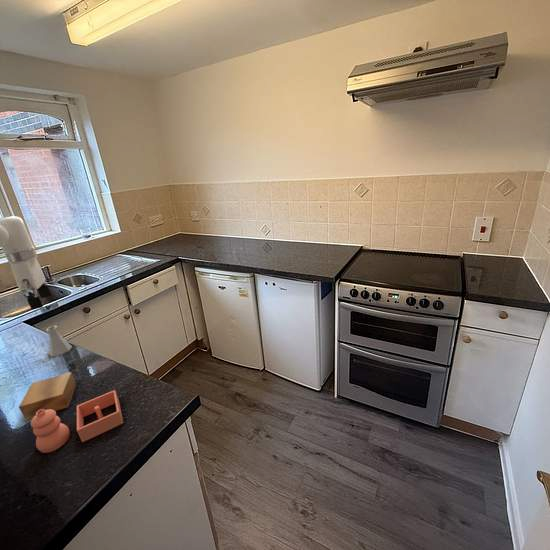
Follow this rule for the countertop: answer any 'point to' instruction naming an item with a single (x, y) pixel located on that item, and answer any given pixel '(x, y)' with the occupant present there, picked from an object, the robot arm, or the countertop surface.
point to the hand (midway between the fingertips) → (42, 302)
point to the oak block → (48, 395)
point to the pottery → (57, 434)
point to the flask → (57, 342)
